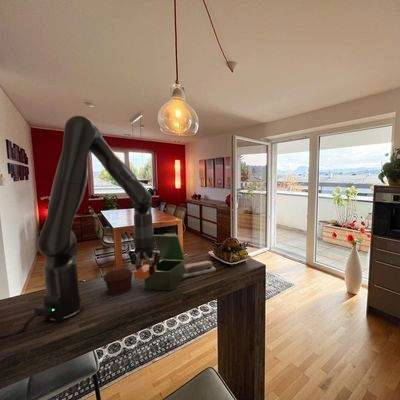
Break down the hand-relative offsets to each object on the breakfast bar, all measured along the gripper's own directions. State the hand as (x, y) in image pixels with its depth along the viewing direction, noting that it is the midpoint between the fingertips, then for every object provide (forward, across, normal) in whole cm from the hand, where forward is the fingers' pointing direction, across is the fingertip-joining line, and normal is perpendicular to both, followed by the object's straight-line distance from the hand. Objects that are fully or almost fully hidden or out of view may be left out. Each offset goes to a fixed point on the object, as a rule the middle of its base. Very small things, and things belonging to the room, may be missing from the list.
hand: (145, 273), depth 99 cm
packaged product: (+10, +11, +27) cm, 31 cm away
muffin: (+11, -17, +4) cm, 20 cm away
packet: (0, 0, 0) cm, 0 cm away
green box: (+10, +1, +13) cm, 17 cm away
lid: (-6, +1, +17) cm, 18 cm away
